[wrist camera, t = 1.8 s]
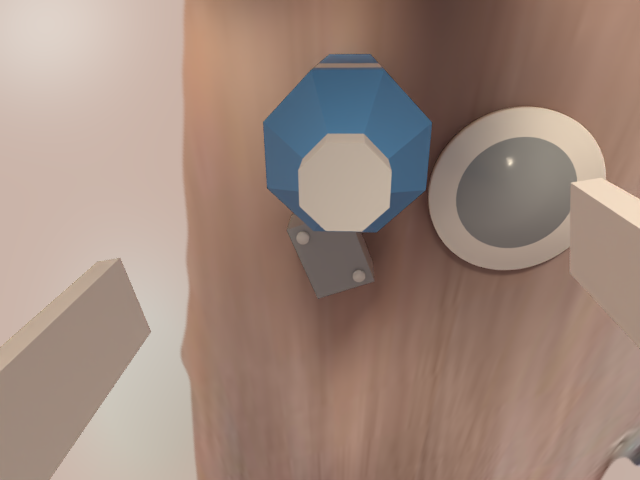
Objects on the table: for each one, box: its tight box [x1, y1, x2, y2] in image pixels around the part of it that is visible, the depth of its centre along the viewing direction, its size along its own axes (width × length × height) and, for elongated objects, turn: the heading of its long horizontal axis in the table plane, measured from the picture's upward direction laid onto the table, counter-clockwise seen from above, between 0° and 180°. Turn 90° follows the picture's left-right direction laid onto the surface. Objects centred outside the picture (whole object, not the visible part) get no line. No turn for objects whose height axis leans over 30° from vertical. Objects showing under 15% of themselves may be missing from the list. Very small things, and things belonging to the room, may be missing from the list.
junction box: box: [287, 214, 375, 299], centre depth 45 cm, size 8×6×4 cm
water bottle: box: [263, 54, 432, 232], centre depth 30 cm, size 9×9×25 cm
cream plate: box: [428, 106, 606, 270], centre depth 43 cm, size 16×16×1 cm
